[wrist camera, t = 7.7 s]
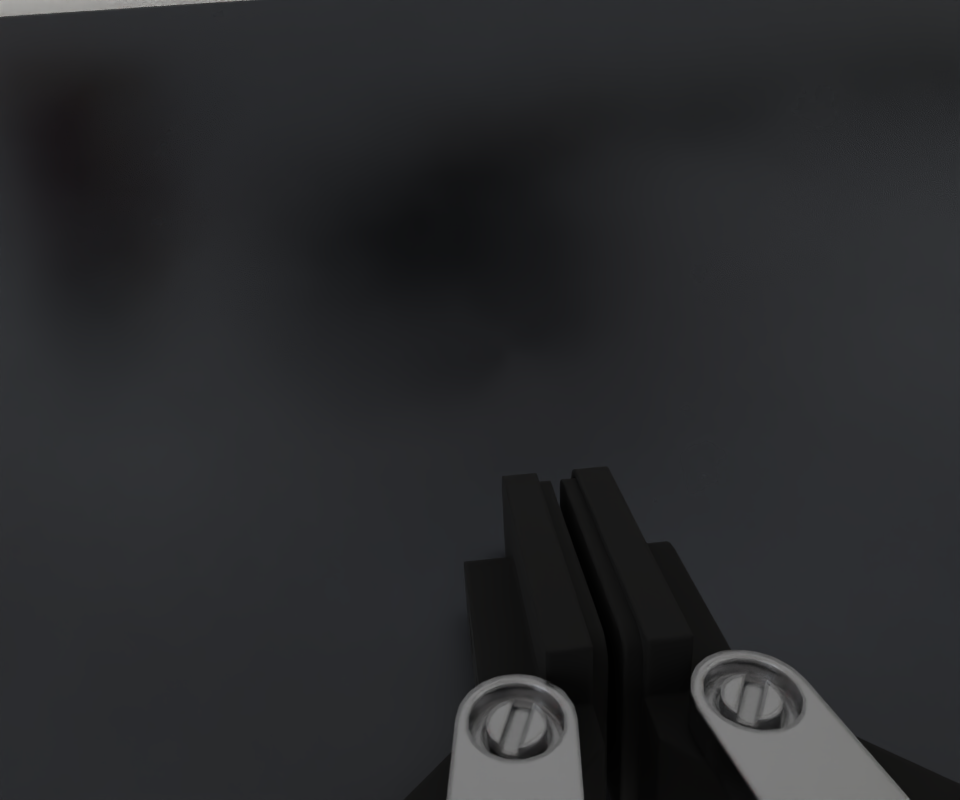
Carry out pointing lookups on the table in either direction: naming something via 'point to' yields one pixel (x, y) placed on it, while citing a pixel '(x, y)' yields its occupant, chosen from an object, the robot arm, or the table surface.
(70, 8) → the table surface
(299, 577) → the screen
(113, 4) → the table surface
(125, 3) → the table surface
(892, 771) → the robot arm
